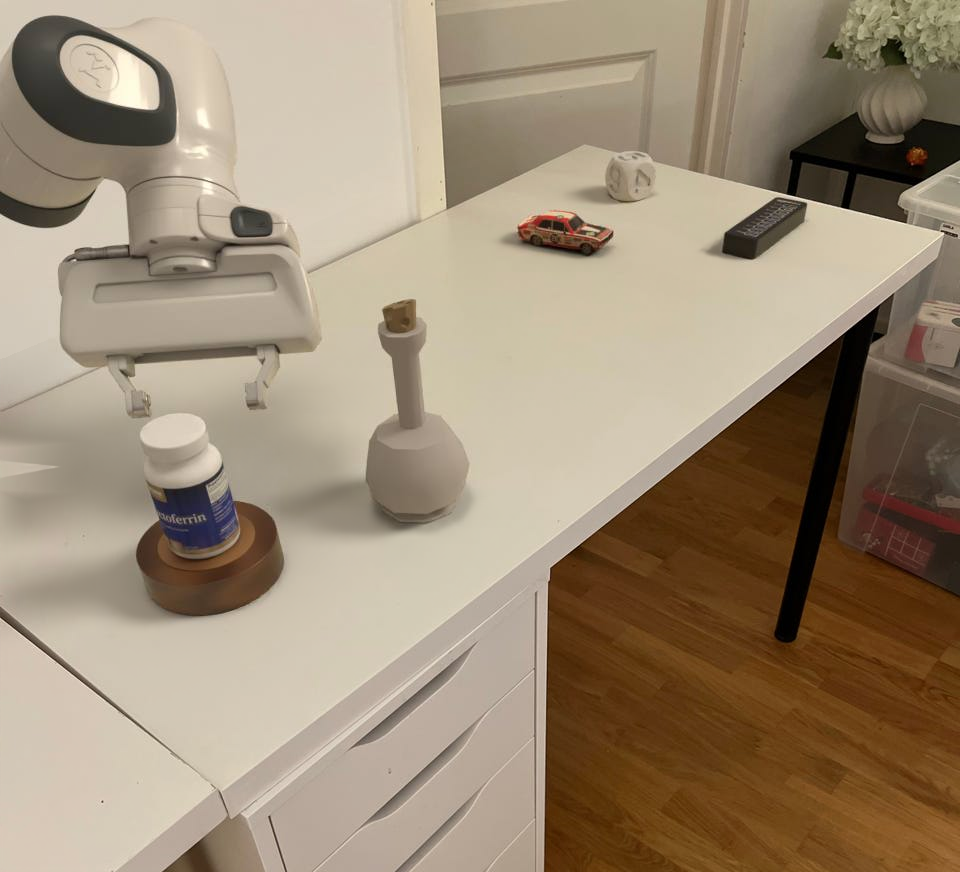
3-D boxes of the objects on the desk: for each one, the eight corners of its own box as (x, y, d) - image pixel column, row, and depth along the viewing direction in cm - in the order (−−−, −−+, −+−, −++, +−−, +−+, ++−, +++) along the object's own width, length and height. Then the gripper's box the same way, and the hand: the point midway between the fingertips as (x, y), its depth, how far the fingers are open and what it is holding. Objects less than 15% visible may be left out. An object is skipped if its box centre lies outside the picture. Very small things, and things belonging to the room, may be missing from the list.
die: (655, 196, 133) (657, 157, 130) (626, 204, 132) (628, 165, 128) (632, 186, 137) (634, 148, 133) (603, 194, 135) (605, 156, 131)
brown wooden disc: (148, 628, 73) (136, 597, 71) (144, 544, 81) (134, 514, 79) (292, 598, 75) (285, 567, 73) (275, 518, 83) (268, 488, 81)
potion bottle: (414, 543, 79) (390, 337, 67) (350, 499, 84) (316, 300, 72) (492, 498, 83) (483, 296, 71) (426, 459, 88) (406, 264, 76)
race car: (539, 242, 128) (534, 205, 125) (618, 244, 121) (614, 205, 118) (518, 255, 125) (512, 218, 122) (597, 258, 118) (593, 219, 115)
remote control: (720, 252, 119) (722, 233, 117) (773, 214, 127) (776, 195, 125) (753, 259, 117) (756, 240, 115) (805, 220, 125) (808, 202, 123)
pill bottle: (155, 557, 75) (116, 446, 68) (188, 514, 79) (154, 405, 72) (223, 566, 73) (190, 454, 67) (253, 521, 77) (225, 411, 71)
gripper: (39, 232, 74) (50, 410, 74) (305, 213, 74) (318, 391, 74) (72, 266, 80) (83, 431, 80) (318, 249, 81) (330, 413, 80)
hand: (198, 412), depth 77 cm, fingers open, 8 cm apart
